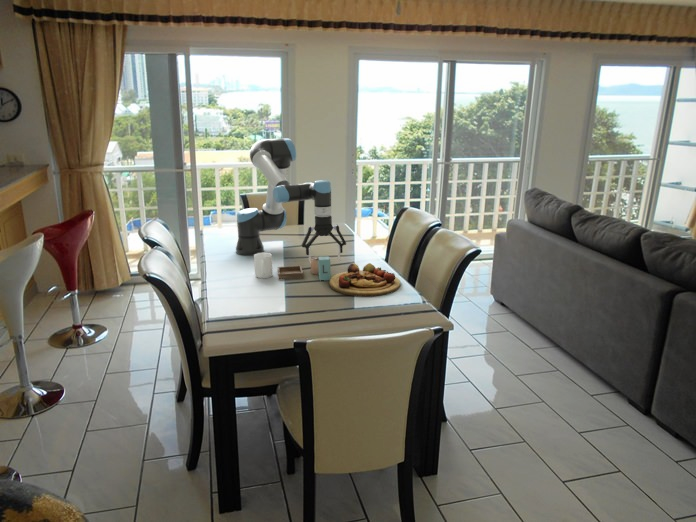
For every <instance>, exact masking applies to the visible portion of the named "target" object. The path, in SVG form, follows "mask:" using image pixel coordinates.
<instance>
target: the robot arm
mask: <svg viewBox="0 0 696 522" xmlns="http://www.w3.org/2000/svg"><path fill="white" fill-rule="evenodd" d="M295 146H296V145H295V144H294V142H293V141H292V139H290V138H283V137H281V138H267V139H265V138H264V139H260V140H258V141H256V142H255V143H254V144H253V145H252V146H251V148H250V152H249V159H250V162H251V163H252V165H253V166H254V167H255V168H257V169H259V170H260V172H261V174H262V175H263V177H264V178H265V179H266V181H267V191H266V200H265V202H264V204H263V205H262V209H260V210H259V209H258V208H257V207H249V208H248V207H247V208H244V209H242V210H239V211H238V212H237V214H236V223H237V237H238V238H237V243H236V247H235V252H236V254H238V255H241V256H242V255H244V256H252V255H253V256H254V255H255V254H257V253H264V251H265V250H264V249H265V248H264V245H263V241H262V240H261V235H260V234H261V232H266V231H276V230H279V229H280V230H281V229H284V227H285V226H286V224H287V219H288V217H287V211H286V209H285V208H284V206H283V205H282V204H283V203H284V204H285V203H293V202H300V201H301V202H302V201H310V200H312V201H314V203H313V204H314V215H315V216H314V224H315V225H314V226H310V225H309V226H308V227H307V232H306V233H305V237H304V239H303V240H302V243H301V247H302V248H304V249H305V254H306V256H308V263H311V258H312V255H311V252H312V251H311V246H312V245H313V243H314V242H315V241H316V239H317V238H318V237H319V236H320V237H323V236H324V237H327V236H330V237H331V238H332V239H333V240H334V241H335V242H336V243H337V244H338V245H337V260H338V261H341V254H343V246H346V245H347V242H346V240H345V238H344V236H343V235H342V233H341V231H340V226H339V225H338V224H336V225H333V223H332V222H333V220H332V219H333V218H332V217H333V216H332V187H331V182H330V181H329V180H328V179H327V180H325V179H323V180H322V179H321V180H320V179H319V180H315V181H314V182H313V181H307V182H304V183H295V184H291V183H290V182H289V180H288V179H287V178H286V175H287V170H288V169H289V168H290V166H291V163H293V162H294V161H296V159H297V151H296V147H295ZM332 230H334V231H336V232H337V234H338V237H339V238H340V240H341V241H340V240H339V239H338V238H337V237H336V235H334V234H333V232H332ZM313 231H315V233H314V234H313V236H312V237H311V238H310V235H311V233H312V232H313ZM309 238H310V240H309ZM308 240H309V241H308Z"/></svg>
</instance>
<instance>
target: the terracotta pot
mask: <svg viewBox="0 0 696 522" xmlns="http://www.w3.org/2000/svg"><path fill="white" fill-rule="evenodd" d="M318 257H322V256H320V255H319V256H316V255H315V256H311V262H310V273H311V274H312V275H318V276H319V267H318Z"/></svg>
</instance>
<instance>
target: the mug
mask: <svg viewBox="0 0 696 522" xmlns="http://www.w3.org/2000/svg"><path fill="white" fill-rule="evenodd" d="M253 263H254V275H255V277H256V278H259V279H267V278H270V277H271V278H272V276H273V255H272V253H270V252H262V253H257V254H254V255H253Z"/></svg>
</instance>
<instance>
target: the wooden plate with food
mask: <svg viewBox="0 0 696 522" xmlns="http://www.w3.org/2000/svg"><path fill="white" fill-rule="evenodd" d="M328 281H329V287H330V288H332V290H334V291H336V292H338V293H340V294H343V295H346V296H353V297H364V298H365V297H366V298H367V297H369V298H370V297H380V296H386V295H390V294H392V293H395V292H396V291H398V290H399V289H400V288H401V285H402V284H401V280H400V279H399V278H398V277H397V276H396V274H395V273H394V272H389V271H387V270H386V269H382V267H380V266H379V267H376V266H375V265H374V264H372V263H370V262H369V263H367V264H365V265H364V266H363V267H362V269H361V270H360V267H359V265H358V264H357V263H354V262H352V263H350V264H349V265H348V267H347V271H343V272H340V273H337V274H334V275H333V276H332V277H331V279H330V280H328Z"/></svg>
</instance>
